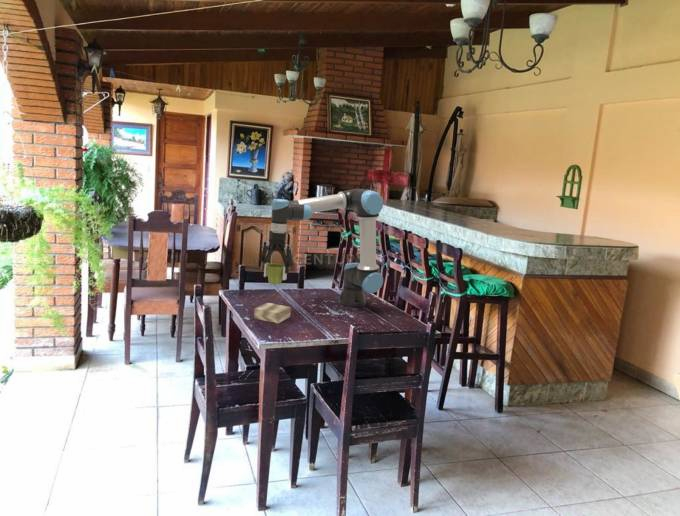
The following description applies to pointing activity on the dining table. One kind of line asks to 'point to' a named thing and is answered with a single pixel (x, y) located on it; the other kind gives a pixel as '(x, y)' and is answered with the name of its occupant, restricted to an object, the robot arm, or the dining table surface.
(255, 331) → the dining table surface
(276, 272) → the plant pot
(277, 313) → the ash block
